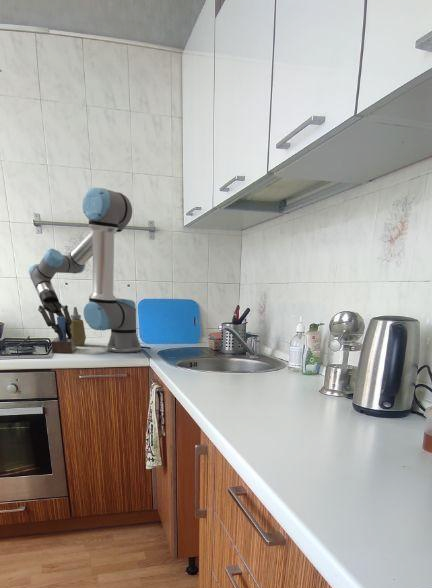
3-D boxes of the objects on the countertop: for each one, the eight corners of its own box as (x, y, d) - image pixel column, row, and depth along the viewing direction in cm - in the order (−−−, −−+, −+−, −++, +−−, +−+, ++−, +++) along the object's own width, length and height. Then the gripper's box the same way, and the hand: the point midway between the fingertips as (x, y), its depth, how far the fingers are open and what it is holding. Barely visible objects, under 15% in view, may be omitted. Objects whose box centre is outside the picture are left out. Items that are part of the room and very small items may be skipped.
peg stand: (76, 348, 222) (75, 337, 220) (72, 353, 208) (71, 341, 206) (57, 347, 221) (56, 337, 219) (52, 353, 207) (51, 341, 205)
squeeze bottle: (82, 346, 226) (79, 308, 220) (66, 345, 228) (63, 307, 221) (89, 344, 234) (86, 307, 227) (73, 343, 235) (70, 306, 228)
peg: (67, 344, 212) (65, 316, 208) (66, 345, 209) (64, 317, 205) (59, 344, 212) (57, 316, 207) (58, 345, 209) (56, 317, 204)
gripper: (63, 301, 220) (81, 341, 214) (28, 301, 210) (46, 344, 204) (67, 290, 214) (85, 331, 209) (31, 289, 204) (49, 333, 199)
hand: (66, 337), depth 206 cm, fingers closed on peg, 3 cm apart
